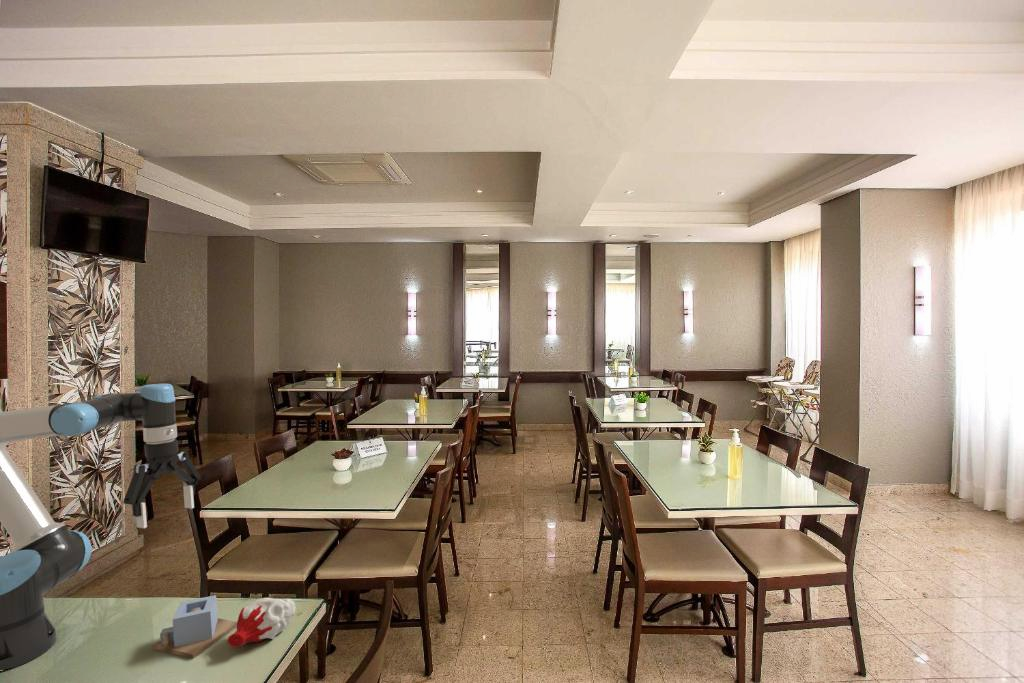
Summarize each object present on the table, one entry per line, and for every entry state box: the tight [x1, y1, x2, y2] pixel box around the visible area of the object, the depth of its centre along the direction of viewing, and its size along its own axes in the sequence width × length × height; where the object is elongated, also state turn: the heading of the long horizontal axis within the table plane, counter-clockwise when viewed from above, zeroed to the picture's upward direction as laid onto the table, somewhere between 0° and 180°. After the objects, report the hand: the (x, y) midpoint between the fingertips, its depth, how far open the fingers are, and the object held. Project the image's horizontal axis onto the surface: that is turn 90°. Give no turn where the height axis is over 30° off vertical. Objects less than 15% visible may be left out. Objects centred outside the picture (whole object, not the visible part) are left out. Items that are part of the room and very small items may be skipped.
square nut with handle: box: [159, 594, 218, 647], centre depth 128 cm, size 12×8×7 cm
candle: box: [226, 597, 297, 648], centre depth 127 cm, size 9×11×15 cm
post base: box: [152, 607, 237, 659], centre depth 128 cm, size 13×13×7 cm
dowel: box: [163, 632, 169, 647], centre depth 124 cm, size 1×1×3 cm
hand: (166, 517), depth 139 cm, fingers open, 13 cm apart
